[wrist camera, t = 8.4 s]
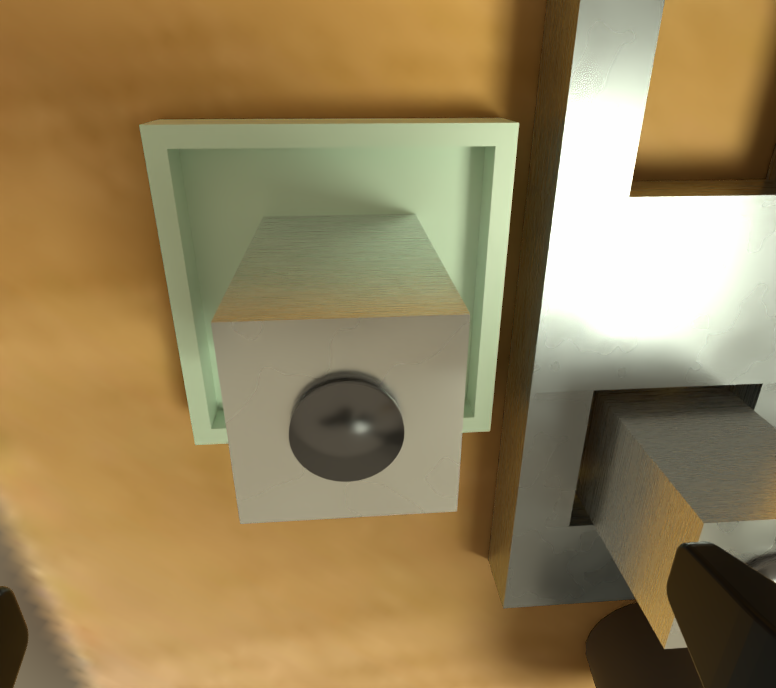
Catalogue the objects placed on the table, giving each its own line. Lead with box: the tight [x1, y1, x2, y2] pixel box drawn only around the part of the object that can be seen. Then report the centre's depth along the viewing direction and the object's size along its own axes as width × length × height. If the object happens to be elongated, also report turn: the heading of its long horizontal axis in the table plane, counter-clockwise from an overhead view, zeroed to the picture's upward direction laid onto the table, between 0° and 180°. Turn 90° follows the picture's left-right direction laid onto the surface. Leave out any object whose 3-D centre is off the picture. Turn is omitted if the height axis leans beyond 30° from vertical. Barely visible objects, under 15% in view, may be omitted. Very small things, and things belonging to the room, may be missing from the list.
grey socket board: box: [488, 0, 776, 608], centre depth 19 cm, size 26×10×2 cm, turn 0°
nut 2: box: [575, 385, 776, 649], centre depth 19 cm, size 5×5×8 cm
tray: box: [139, 118, 519, 445], centre depth 18 cm, size 10×10×2 cm
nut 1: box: [211, 214, 470, 524], centre depth 15 cm, size 5×5×8 cm
